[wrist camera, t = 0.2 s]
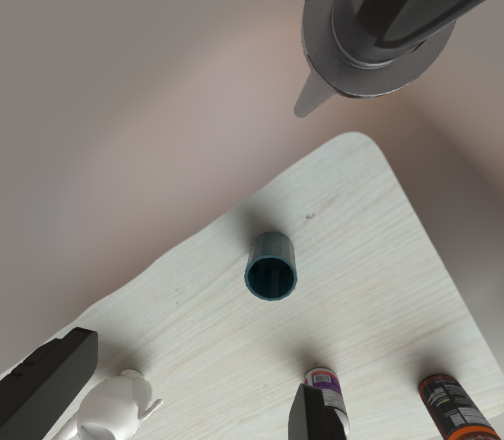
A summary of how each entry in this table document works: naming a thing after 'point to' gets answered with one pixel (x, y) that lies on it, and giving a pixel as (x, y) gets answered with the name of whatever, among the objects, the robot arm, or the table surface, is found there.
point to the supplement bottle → (454, 410)
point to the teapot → (112, 409)
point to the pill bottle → (329, 392)
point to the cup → (271, 267)
